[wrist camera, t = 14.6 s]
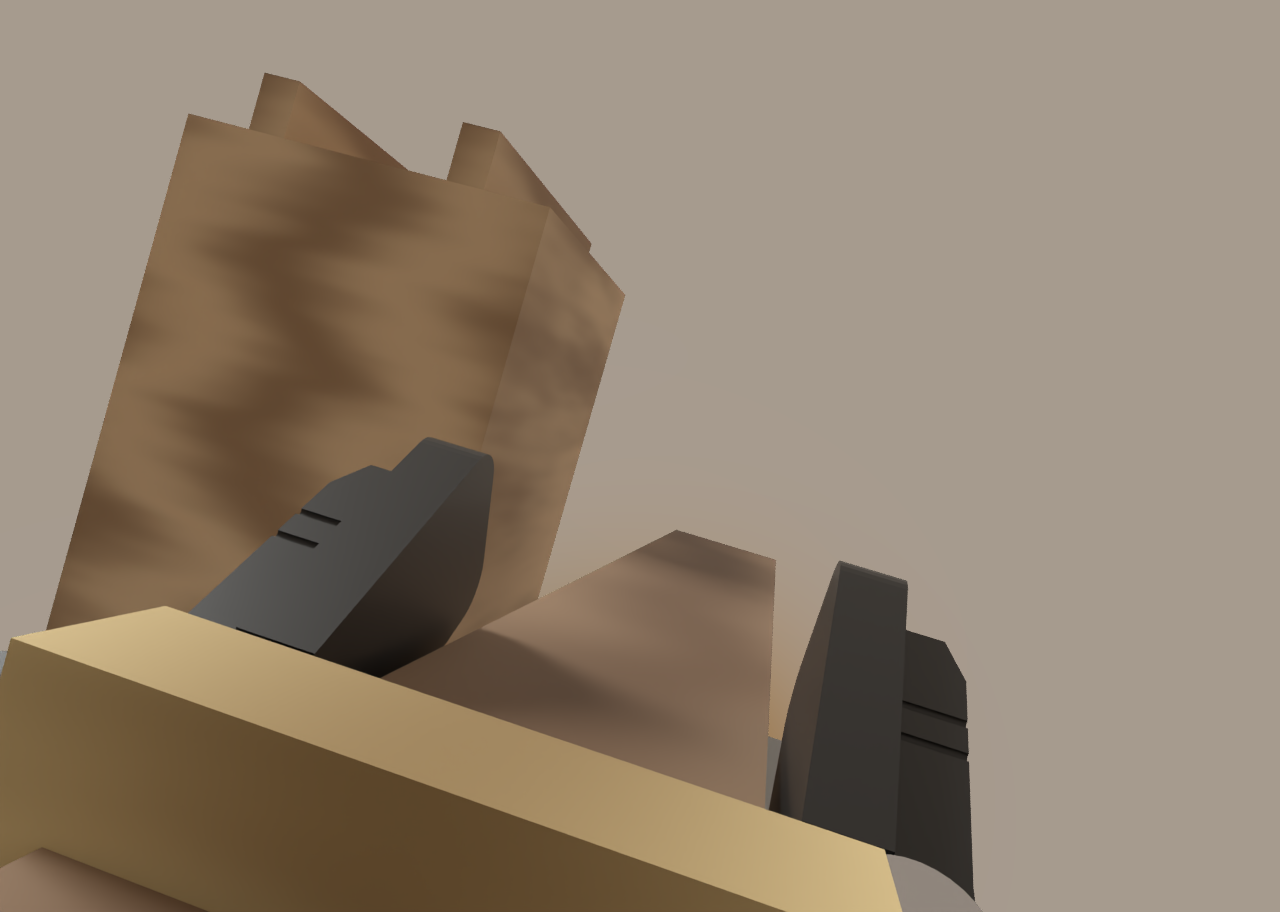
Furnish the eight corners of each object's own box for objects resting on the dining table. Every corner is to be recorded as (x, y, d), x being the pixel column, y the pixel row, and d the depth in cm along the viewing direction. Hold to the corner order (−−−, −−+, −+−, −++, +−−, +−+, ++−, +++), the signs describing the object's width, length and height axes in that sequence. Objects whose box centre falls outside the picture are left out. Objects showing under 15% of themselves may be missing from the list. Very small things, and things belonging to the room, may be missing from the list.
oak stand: (-133, 1274, 26) (203, 57, 25) (152, 1024, 38) (386, 189, 37) (201, 1430, 25) (566, 148, 24) (388, 1120, 37) (636, 255, 36)
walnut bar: (-458, 1732, 4) (-166, 673, 4) (635, 623, 34) (671, 500, 34) (580, 2332, 3) (951, 1087, 3) (759, 663, 33) (796, 538, 33)
